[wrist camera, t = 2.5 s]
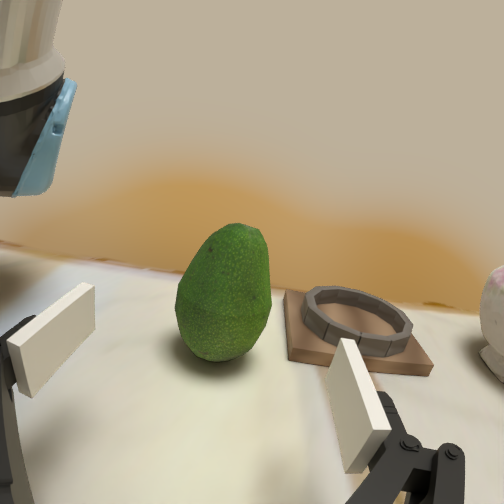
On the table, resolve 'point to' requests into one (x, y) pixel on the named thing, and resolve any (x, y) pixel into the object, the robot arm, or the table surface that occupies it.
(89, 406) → the table surface
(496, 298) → the ceramic pitcher
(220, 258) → the avocado
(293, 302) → the ring stand
